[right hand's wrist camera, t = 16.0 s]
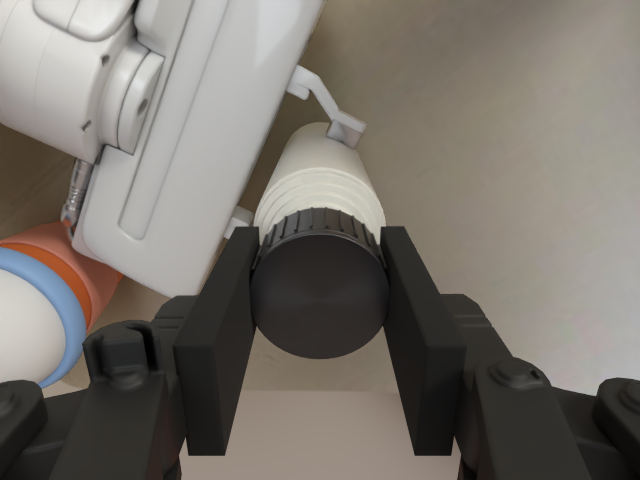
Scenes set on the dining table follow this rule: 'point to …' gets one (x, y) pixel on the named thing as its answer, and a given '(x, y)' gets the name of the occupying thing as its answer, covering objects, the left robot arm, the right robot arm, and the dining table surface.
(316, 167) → the bottle
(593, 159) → the dining table surface
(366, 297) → the cap
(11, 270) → the cup with straw
